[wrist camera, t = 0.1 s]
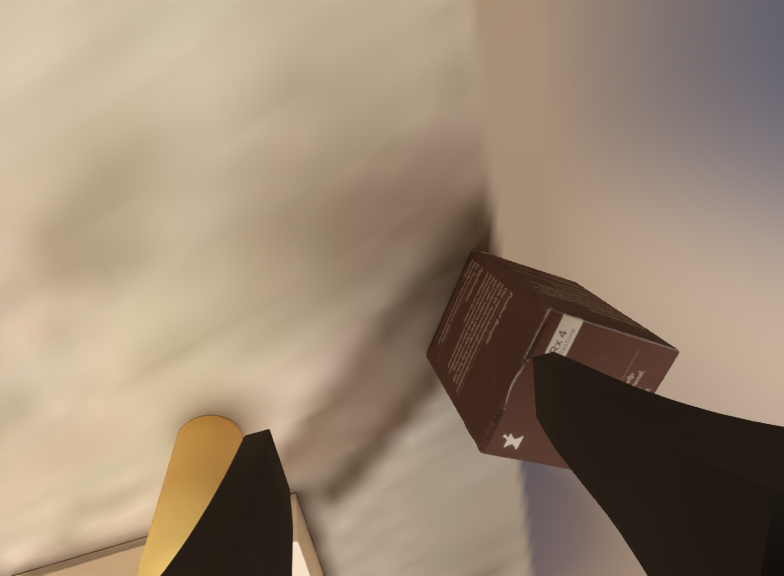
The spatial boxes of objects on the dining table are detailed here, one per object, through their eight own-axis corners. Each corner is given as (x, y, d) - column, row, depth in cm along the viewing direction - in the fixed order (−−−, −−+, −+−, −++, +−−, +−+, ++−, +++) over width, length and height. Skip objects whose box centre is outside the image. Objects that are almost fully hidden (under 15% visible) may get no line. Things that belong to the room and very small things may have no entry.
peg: (250, 456, 24) (240, 586, 18) (188, 474, 24) (156, 613, 18) (231, 408, 23) (214, 528, 17) (166, 425, 23) (123, 555, 16)
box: (522, 382, 26) (605, 481, 20) (421, 356, 24) (475, 456, 18) (575, 279, 25) (686, 351, 18) (472, 243, 23) (553, 307, 16)
